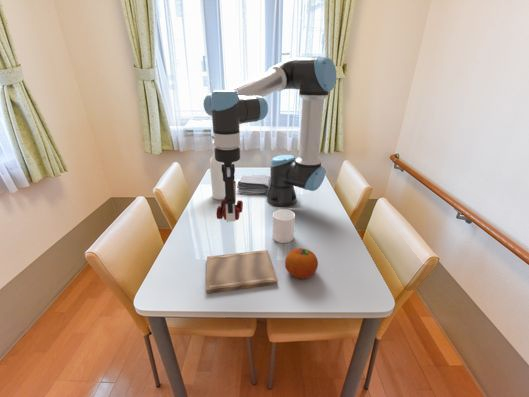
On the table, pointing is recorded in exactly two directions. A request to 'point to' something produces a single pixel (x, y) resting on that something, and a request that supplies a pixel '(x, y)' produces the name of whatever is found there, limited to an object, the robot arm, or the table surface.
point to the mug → (283, 226)
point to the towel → (254, 184)
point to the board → (239, 271)
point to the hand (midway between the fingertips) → (230, 211)
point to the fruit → (301, 263)
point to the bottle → (217, 177)
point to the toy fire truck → (222, 209)
